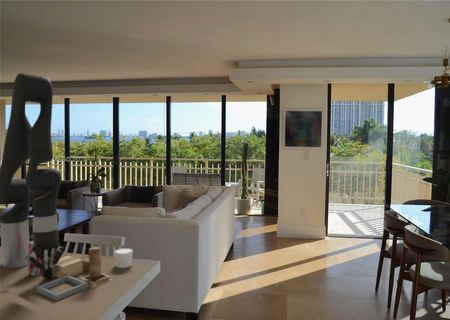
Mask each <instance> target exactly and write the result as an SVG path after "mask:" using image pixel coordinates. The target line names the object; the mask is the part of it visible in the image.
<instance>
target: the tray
mask: <svg viewBox="0 0 450 320" xmlns="http://www.w3.org/2000/svg"><path fill="white" fill-rule="evenodd" d="M67 282H68V283H71V284H73V285H75V286H73V287H70V288H69V289H66V290H63V291H61V292H55V291H52V290H51V288H54V287H56V286H59V285H61V284H64V283H67ZM87 288H88V289H89V285H88V282H85V281H83V280H80V278H77V277H74V276H69V275H67V276H64V277H61V278H56V279H53V280H51V281H48V282H45V283H42V284H40V285H37V286H35V291H36V293H38V294H41V295H43V296H45V297H47V298H50V299H52V300H54V301H56V302H57V301H60V300H62V299H64V298H67V297H69V296H72V295H74V294H76V293H79V292H81V291H83V290H85V289H87Z"/></svg>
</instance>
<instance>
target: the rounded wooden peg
mask: <svg viewBox="0 0 450 320" xmlns="http://www.w3.org/2000/svg"><path fill="white" fill-rule="evenodd" d="M88 258H89V272H88V273H89V274H88V275H89V276H90V280H91V281H93V282H94V281H96V280H99V279H101V273H102V271H101V269H102V268H101V262H102V261H101V247H99V246H93V247H89V249H88Z"/></svg>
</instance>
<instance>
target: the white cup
mask: <svg viewBox="0 0 450 320" xmlns="http://www.w3.org/2000/svg"><path fill="white" fill-rule="evenodd" d="M133 252H134V249H133V248H129V247H127V248H126V247H124V248H123V247H122V248H118V249H115V250H114V251H113V255H114V263H115V267H116V268H118V269H125V268H129V267H131V266H132V264H133Z"/></svg>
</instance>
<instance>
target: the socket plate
mask: <svg viewBox="0 0 450 320" xmlns="http://www.w3.org/2000/svg"><path fill="white" fill-rule="evenodd" d="M79 279H80V280H83V281H85V282H88V285H89V287H90V288H92V289H93V288H96V287H98V286H101V285H103V284H104V283H107V282H110V281H112V280H113V278H111V275H108V274H105V273H102V272H101V279H99V280H96V281H94V282H93V281H91V280H90V276H89V274H88V275H84V276H82V277H80V278H79ZM89 287H88V288H89Z"/></svg>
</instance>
